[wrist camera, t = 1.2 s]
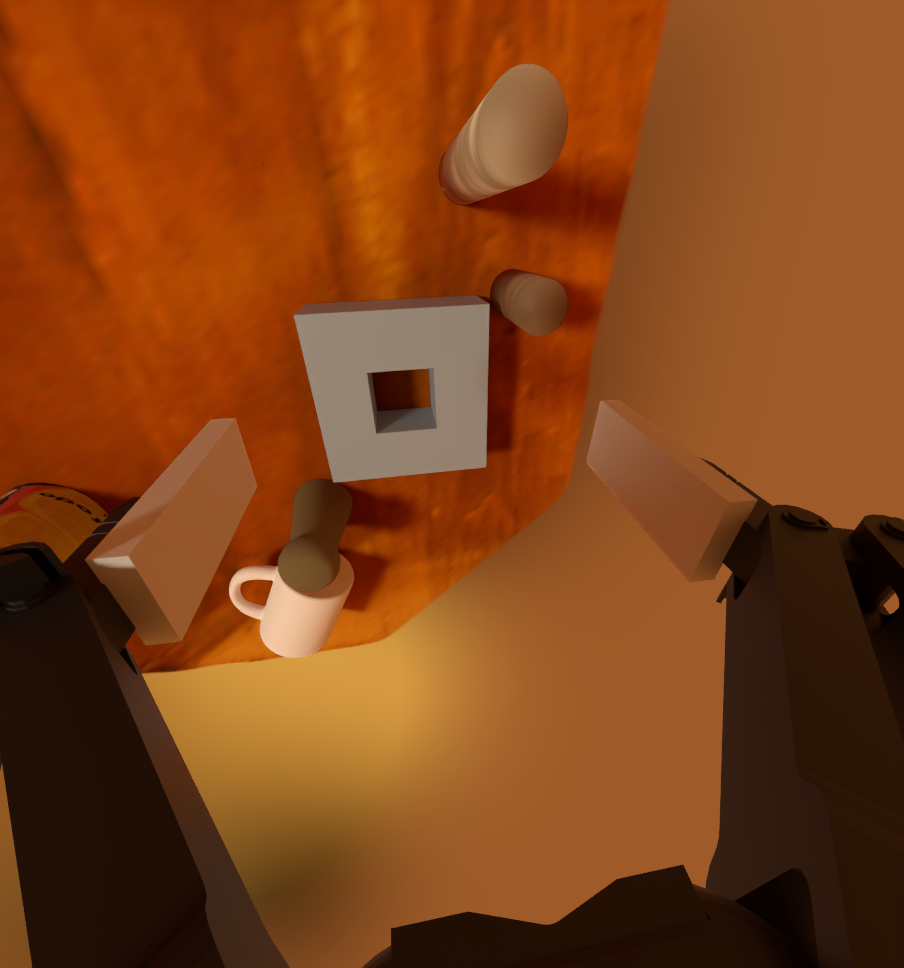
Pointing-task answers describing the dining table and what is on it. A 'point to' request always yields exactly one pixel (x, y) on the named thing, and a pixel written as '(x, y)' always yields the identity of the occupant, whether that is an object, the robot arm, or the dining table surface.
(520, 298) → the short pin
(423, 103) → the dining table surface
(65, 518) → the yellow food can
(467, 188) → the long pin
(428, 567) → the dining table surface
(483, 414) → the hole block
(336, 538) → the cork
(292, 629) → the mug
